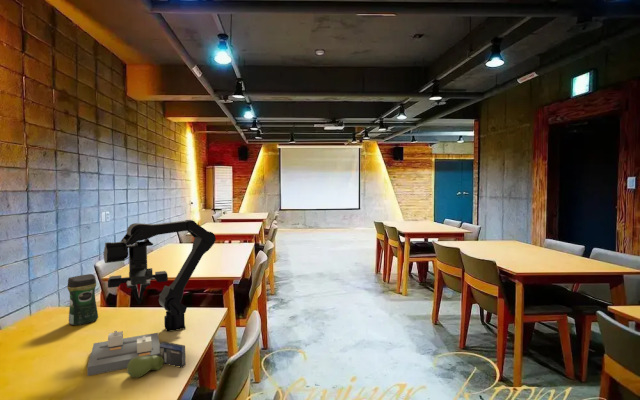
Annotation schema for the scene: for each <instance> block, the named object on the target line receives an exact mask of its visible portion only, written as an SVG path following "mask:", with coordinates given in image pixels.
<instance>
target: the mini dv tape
mask: <svg viewBox="0 0 640 400" xmlns="http://www.w3.org/2000/svg"><path fill="white" fill-rule="evenodd" d="M159 344H160V356H161V357H162V358H163V360H164V362H163V363H164V364H163V365H166V364H170V365H169V366H171V365H175V366H174V367H176V366H180V367H179V368H181V367H182V368H184V367H185V366H186V365H187V364H186V363H187V362H186V345H183V344H178V343H173V342H167V341H162V342H159ZM183 366H184V367H183Z"/></svg>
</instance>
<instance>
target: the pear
mask: <svg viewBox="0 0 640 400" xmlns="http://www.w3.org/2000/svg"><path fill="white" fill-rule="evenodd" d="M163 362H164V360H163V358H162V357H161V356H157V355H152V356H138V357H135V358H133V359H132V360H130V362H129V363H128V365H127V368H126V372H127V374H128V375H129V377H131V378H141V377H142V376H144V375H145V374H146V373H148V372H150V371H151V370H153V371H159V370H161V369H163V365H164V364H163Z"/></svg>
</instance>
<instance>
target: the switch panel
mask: <svg viewBox="0 0 640 400" xmlns="http://www.w3.org/2000/svg"><path fill="white" fill-rule="evenodd" d="M143 336H145V337H150V336H151V342H152V351H147V352H142V353H137V339H138V338H143ZM152 355H157V356H160V339H159V332H154V333H149V334H147V333H146V334H142V335H137V336H131V337H123V345H119V346H113V347H108V340H106V341H99V342H94V343H93V346H92V348H91V351H90V356H89V358H88V359H89V360H88V363H87V367H86V368H87V371H86V372H87V376H88V377H89V376H94V375H99V374H104V373H108V372H113V371H119V370H124V369H127V365H128V363H129V362H130V360H132V359H133V358H135V357H138V356H152Z"/></svg>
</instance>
